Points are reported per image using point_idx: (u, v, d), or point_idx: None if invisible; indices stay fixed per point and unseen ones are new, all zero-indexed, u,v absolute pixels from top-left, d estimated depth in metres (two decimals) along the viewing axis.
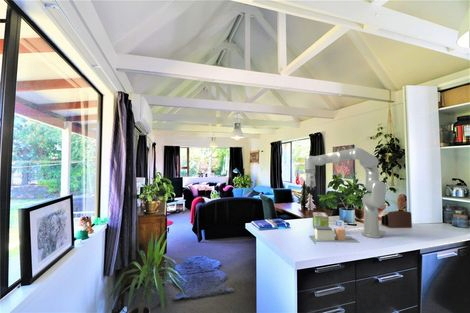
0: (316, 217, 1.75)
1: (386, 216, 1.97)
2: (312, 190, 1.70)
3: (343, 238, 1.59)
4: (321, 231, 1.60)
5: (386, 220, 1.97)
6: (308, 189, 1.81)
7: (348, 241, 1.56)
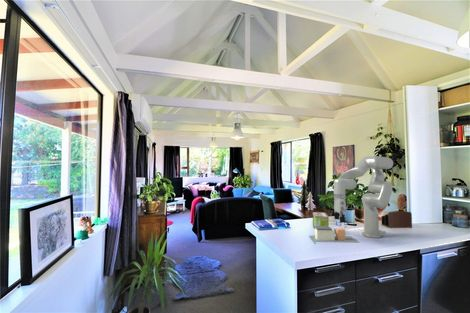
0: (316, 217, 1.75)
1: (386, 216, 1.97)
2: (342, 217, 1.56)
3: (343, 238, 1.59)
4: (321, 231, 1.60)
5: (386, 220, 1.97)
6: (336, 215, 1.66)
7: (348, 241, 1.56)
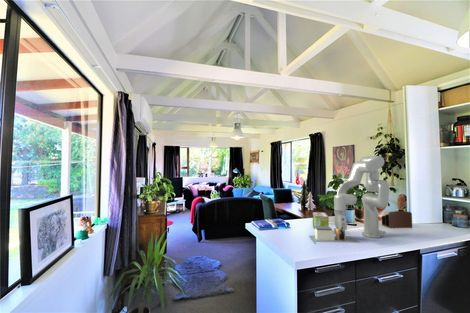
0: (316, 217, 1.75)
1: (387, 216, 1.97)
2: (342, 234, 1.58)
3: None
4: (321, 231, 1.60)
5: (387, 220, 1.97)
6: None
7: (348, 241, 1.56)
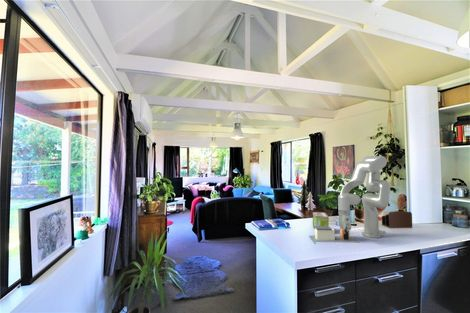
0: (316, 217, 1.75)
1: (387, 216, 1.97)
2: (346, 235, 1.58)
3: None
4: (321, 231, 1.60)
5: (387, 220, 1.97)
6: None
7: (348, 241, 1.56)
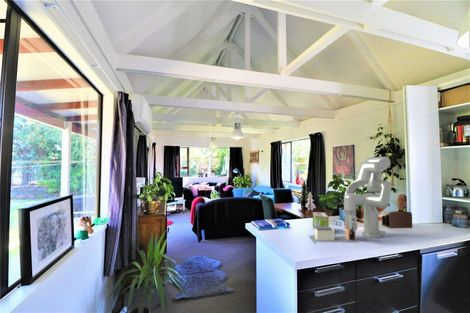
0: (316, 217, 1.75)
1: (387, 216, 1.97)
2: (352, 235, 1.58)
3: None
4: (321, 231, 1.60)
5: (387, 220, 1.96)
6: None
7: (348, 241, 1.56)
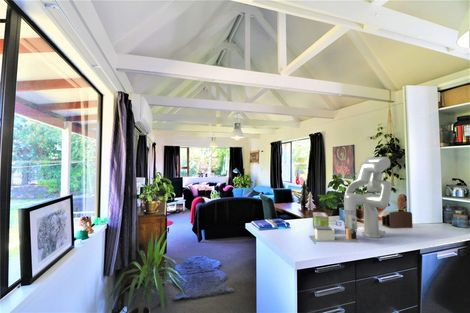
0: (316, 217, 1.75)
1: (387, 216, 1.96)
2: (354, 234, 1.55)
3: None
4: (321, 231, 1.60)
5: (387, 220, 1.96)
6: None
7: (348, 241, 1.56)
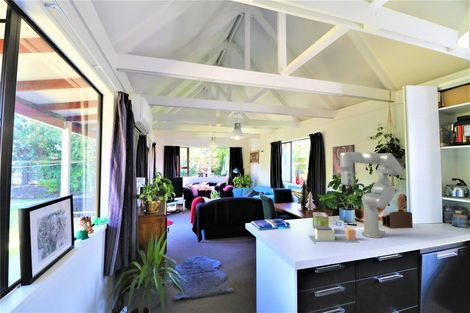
0: (316, 217, 1.75)
1: (387, 216, 1.96)
2: (350, 189, 1.60)
3: (353, 238, 1.59)
4: (321, 231, 1.60)
5: (387, 221, 1.96)
6: (343, 188, 1.70)
7: (348, 241, 1.56)
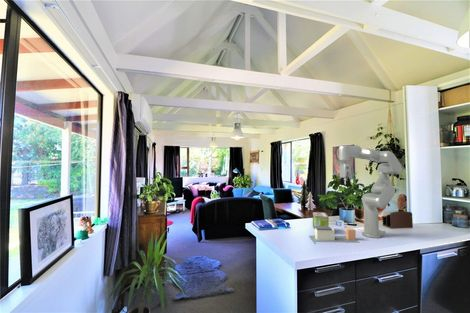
0: (316, 217, 1.75)
1: (388, 217, 1.95)
2: (348, 181, 1.61)
3: (353, 238, 1.59)
4: (321, 231, 1.60)
5: (388, 221, 1.95)
6: (342, 181, 1.72)
7: (348, 241, 1.56)
